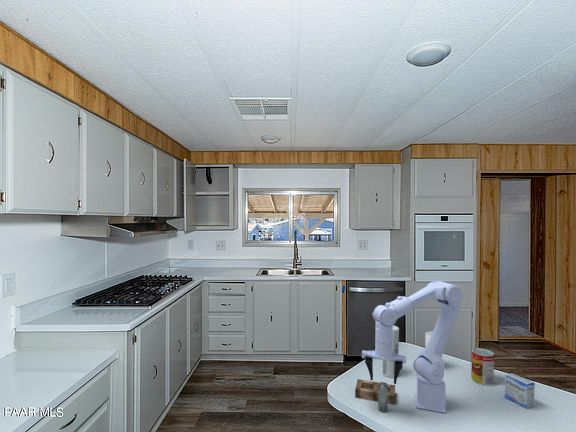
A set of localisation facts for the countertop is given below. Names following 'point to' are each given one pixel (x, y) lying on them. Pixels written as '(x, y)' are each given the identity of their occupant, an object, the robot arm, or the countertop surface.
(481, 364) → the canned food
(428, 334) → the drinking glass
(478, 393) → the countertop surface
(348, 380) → the countertop surface
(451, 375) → the countertop surface
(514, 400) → the medicine box
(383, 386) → the peg
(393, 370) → the spray can
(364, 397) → the hole block
